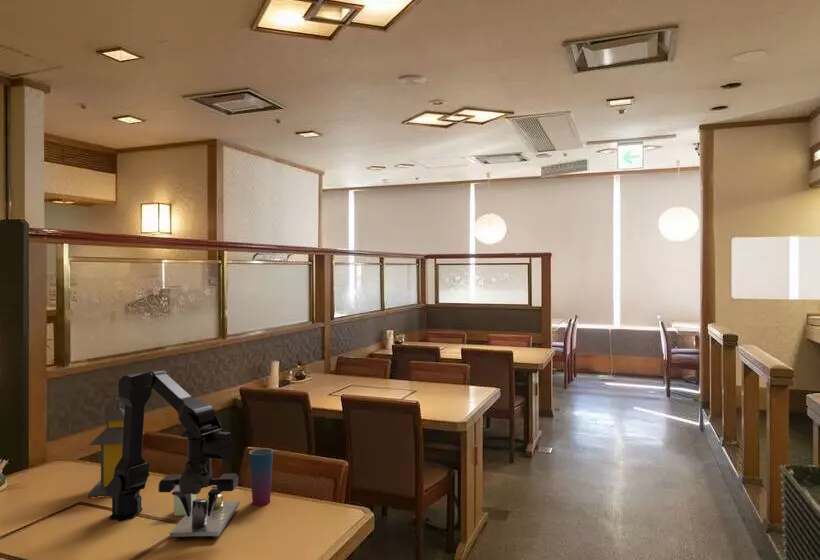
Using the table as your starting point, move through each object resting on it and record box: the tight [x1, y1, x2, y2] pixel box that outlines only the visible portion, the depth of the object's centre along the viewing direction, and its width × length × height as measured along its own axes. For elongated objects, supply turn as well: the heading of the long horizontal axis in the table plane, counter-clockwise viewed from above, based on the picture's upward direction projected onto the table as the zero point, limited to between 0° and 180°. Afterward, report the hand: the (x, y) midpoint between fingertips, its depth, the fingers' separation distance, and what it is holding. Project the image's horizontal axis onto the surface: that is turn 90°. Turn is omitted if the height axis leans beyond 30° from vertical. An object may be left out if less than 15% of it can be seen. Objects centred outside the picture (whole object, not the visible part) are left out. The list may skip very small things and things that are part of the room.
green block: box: [173, 494, 197, 516], centre depth 160 cm, size 4×4×6 cm
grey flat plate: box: [169, 500, 241, 540], centre depth 152 cm, size 12×20×2 cm, turn 2°
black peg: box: [192, 498, 207, 527], centre depth 146 cm, size 4×4×6 cm
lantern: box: [87, 392, 146, 497], centre depth 180 cm, size 14×14×30 cm
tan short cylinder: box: [206, 491, 224, 509], centre depth 159 cm, size 4×4×3 cm
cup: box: [248, 447, 274, 507], centre depth 167 cm, size 7×7×15 cm
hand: (199, 516), depth 146 cm, fingers open, 5 cm apart
